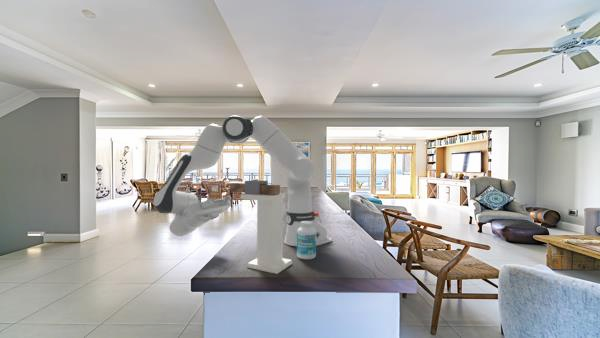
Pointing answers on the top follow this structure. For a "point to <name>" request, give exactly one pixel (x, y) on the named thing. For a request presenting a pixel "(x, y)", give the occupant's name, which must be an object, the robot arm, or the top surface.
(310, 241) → the pill bottle
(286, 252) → the top surface
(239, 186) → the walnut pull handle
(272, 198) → the post
